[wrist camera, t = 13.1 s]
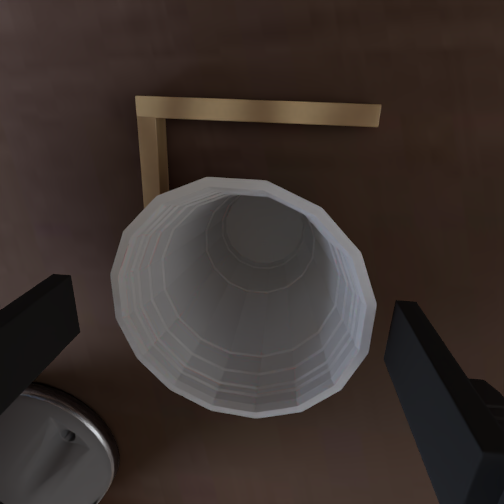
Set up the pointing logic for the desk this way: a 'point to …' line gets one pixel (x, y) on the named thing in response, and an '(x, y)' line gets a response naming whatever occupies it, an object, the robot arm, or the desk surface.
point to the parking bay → (267, 111)
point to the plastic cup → (243, 297)
